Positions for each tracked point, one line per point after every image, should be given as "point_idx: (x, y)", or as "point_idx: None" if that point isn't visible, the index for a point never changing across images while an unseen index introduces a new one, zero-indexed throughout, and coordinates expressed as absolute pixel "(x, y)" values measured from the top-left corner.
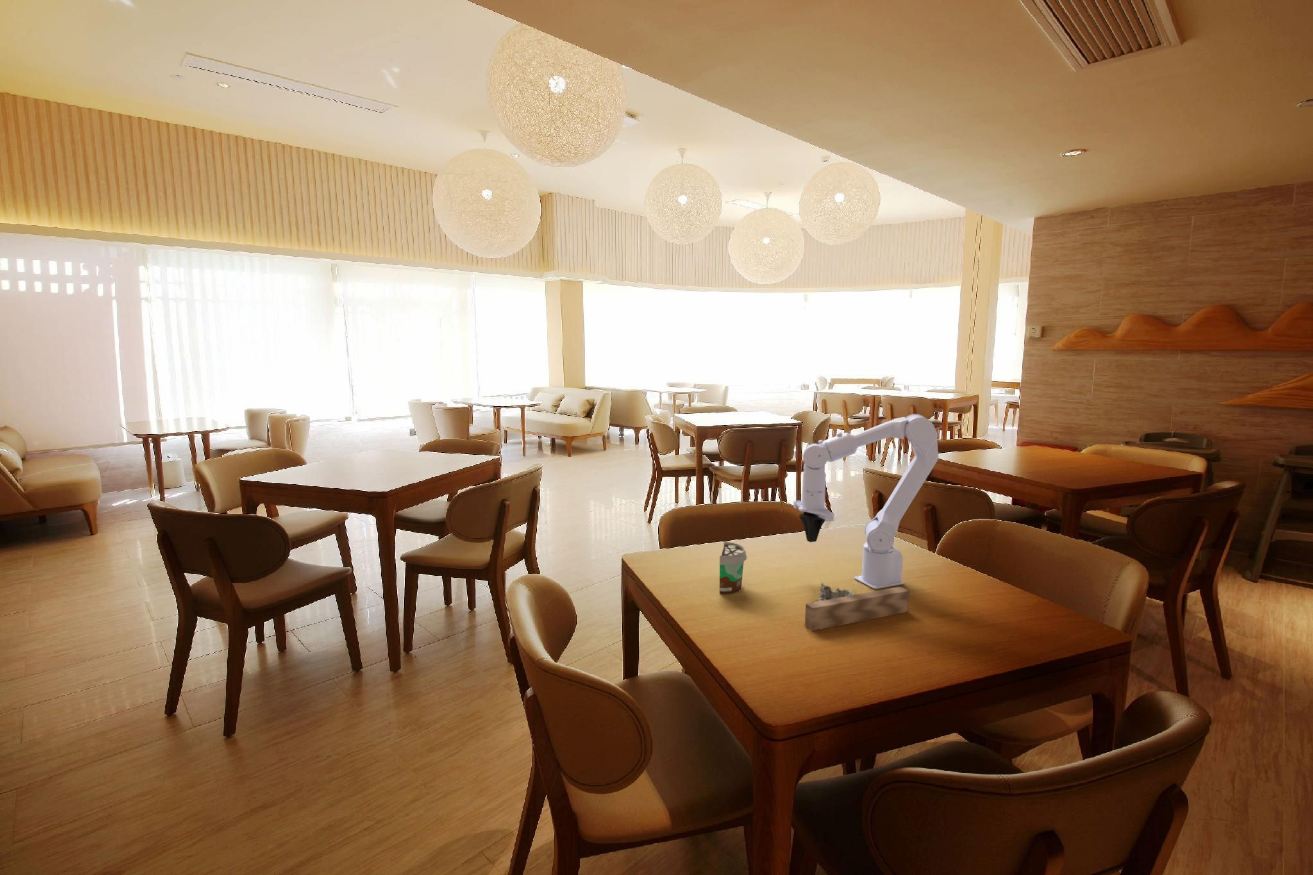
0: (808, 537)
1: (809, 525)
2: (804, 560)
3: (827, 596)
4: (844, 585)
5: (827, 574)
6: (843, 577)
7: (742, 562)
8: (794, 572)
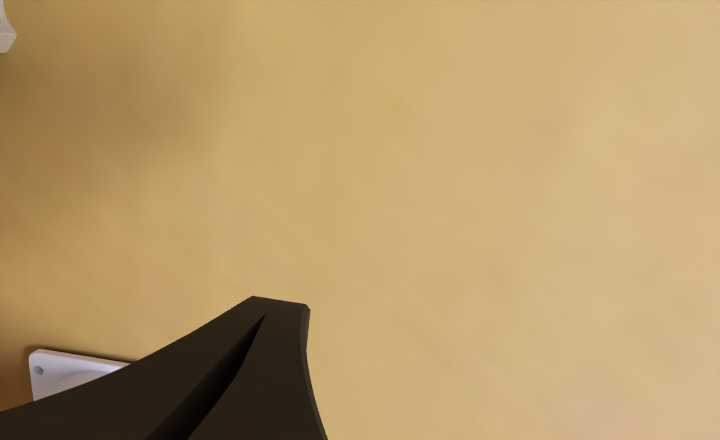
0: (247, 313)
1: (42, 409)
2: (548, 364)
3: (4, 45)
4: (135, 267)
5: None
6: None
7: None
8: (427, 166)
